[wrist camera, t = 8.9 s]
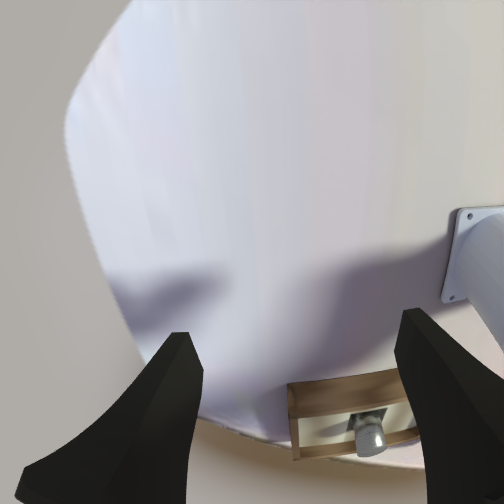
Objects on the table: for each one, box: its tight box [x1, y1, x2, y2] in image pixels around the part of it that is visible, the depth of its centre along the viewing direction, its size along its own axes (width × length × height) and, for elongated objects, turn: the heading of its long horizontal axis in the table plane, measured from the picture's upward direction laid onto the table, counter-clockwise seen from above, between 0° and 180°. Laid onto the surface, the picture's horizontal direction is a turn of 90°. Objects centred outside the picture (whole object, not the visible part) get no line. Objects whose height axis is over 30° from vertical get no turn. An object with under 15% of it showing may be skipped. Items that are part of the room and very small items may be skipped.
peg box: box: [287, 368, 420, 461], centre depth 27 cm, size 16×12×4 cm
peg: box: [351, 409, 387, 457], centre depth 26 cm, size 3×3×6 cm
